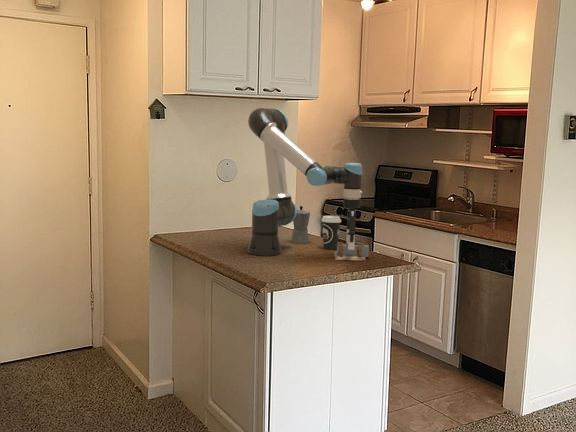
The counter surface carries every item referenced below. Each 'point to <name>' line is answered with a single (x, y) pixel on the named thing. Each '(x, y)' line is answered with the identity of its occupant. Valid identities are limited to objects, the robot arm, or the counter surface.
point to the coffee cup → (330, 231)
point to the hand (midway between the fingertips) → (350, 246)
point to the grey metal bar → (353, 252)
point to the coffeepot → (301, 227)
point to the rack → (349, 256)
